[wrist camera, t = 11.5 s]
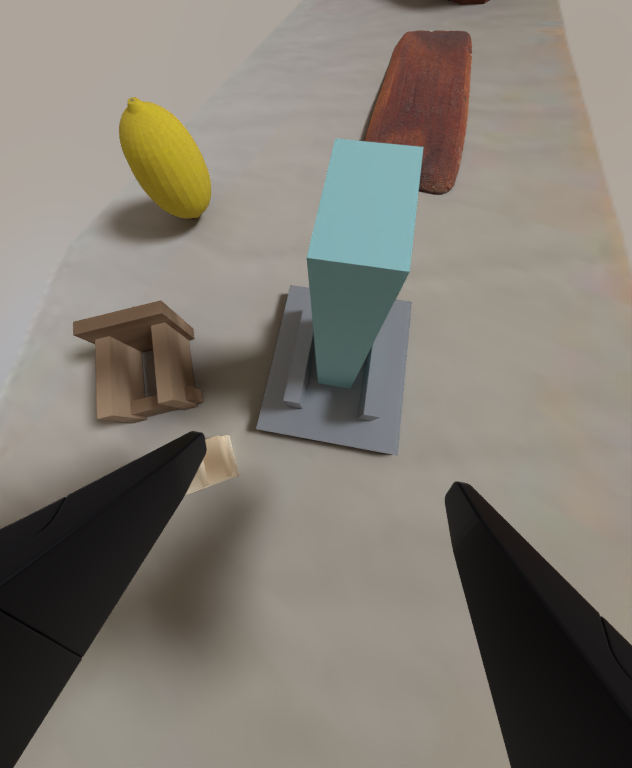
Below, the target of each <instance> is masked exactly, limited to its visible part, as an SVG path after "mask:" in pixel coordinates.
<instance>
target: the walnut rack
mask: <svg viewBox="0 0 632 768" xmlns="http://www.w3.org/2000/svg"><path fill="white" fill-rule="evenodd" d="M73 335H74V336H77V337H79V338H81V339H84V340H86V341H88V342H91V343H93V344H95V352H96V396H97V419H100V420H110V421H120V422H130V423H136V422H139V421H143V420H147V417H149V416H153V415H156V414H160V413H164V412H168V411H172V410H176V409H179V408H180V409H184V410H185V409H189V408H193V407H197V404H199V403H202V402H203V395H202V390H200V389H198V388H195V384H194V376H193V369H192V361H191V354H190V346H189V340H192V339H194V332H193V328H192V327H191V326H190V325H189V324H187V323H186V322H185V321H184V320H183V319H182V318H180V317H179V316H178V315H177V314H176V313H175V312H174V311H172V310H171V309H170V308H169V307H168V306H167V305H166V304H164V303H163V302H162V301H157V302H153V303H149V304H145V305H141V306H137V307H132V308H128V309H124V310H120V311H116V312H112V313H108V314H104V315H100V316H96V317H92V318H88V319H83V320H79V321H75V322H73ZM152 349H153V353H154V364H155V375H156V386H157V395H154V396H150V397H146V398H145V389H144V376H143V363H142V352H144V351H148V350H152Z"/></svg>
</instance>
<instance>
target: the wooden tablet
mask: <svg viewBox="0 0 632 768" xmlns="http://www.w3.org/2000/svg"><path fill="white" fill-rule="evenodd" d="M471 54H472V42H471V37H470V35H469V33H467V32H465V31H433V32H430V31H413V32H407V33H405V34H404V35H403V37H402V38H401V39H400V41H399V42H398V44H397V45H396V47H395V48H394V51H393V54H392V58H391V61H390V64H389V67H388V70H387V74H386V76H385V79H384V83H383V85H382V88H381V90H380V93H379V96H378V99H377V102H376V105H375V107H374V111H373V114H372V117H371V120H370V124H369V127H368V130H367V133H366V137H365V140H364V141H366V142H376V143H387V144H397V145H408V146H418V147H423V156H422V165H421V174H420V183H419V191H422V192H427V193H432V194H444V193H447V192H449V191H450V190H451V189H452V187H453V186H454V184H455V181H456V177H457V174H458V170H459V167H460V162H461V157H462V151H463V145H464V139H465V131H466V125H467V118H468V104H469V92H470V74H471V60H472V56H471Z"/></svg>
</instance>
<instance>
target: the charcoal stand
mask: <svg viewBox="0 0 632 768" xmlns="http://www.w3.org/2000/svg"><path fill="white" fill-rule="evenodd" d="M411 304H412V302H409V301H402V300H395V302H394V304H393V305H392V307H391V309H390V311H389V313H388V315H387V317H386V319H385V321H384V323H383V325H382V327H381V329H380V331H379V333H378V335H377V337H376V339H375V341H374V343H373V345H372V347H371V349H370V351H369V353H368V355H367V357H366V359H365V361H364V363H363V365H362V367H361V369H360V371H359V373H358V375H357V377H356V379H355V381H354V382H353V384H352V386H351V388H350V389H348V388H342V387H337V386H331V385H326V384H320V383H318V376H317V365H316V354H315V343H314V332H313V321H312V310H311V299H310V288H307V287H300V286H292V285H290V289H289V293H288V297H287V301H286V306H285V310H284V314H283V318H282V322H281V327H280V331H279V335H278V339H277V343H276V348H275V352H274V356H273V360H272V364H271V368H270V373H269V377H268V381H267V385H266V389H265V394H264V398H263V402H262V406H261V410H260V415H259V419H258V423H257V427H256V429H258V430H264V431H269V432H275V433H280V434H285V435H291V436H296V437H301V438H307V439H312V440H317V441H323V442H328V443H334V444H339V445H344V446H350V447H355V448H360V449H366V450H371V451H377V452H382V453H387V454H393V455H398V445H399V434H400V424H401V413H402V402H403V391H404V380H405V369H406V358H407V348H408V337H409V326H410V315H411Z"/></svg>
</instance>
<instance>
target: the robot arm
mask: <svg viewBox="0 0 632 768" xmlns="http://www.w3.org/2000/svg"><path fill="white" fill-rule="evenodd" d="M206 452H207V447H206V441H205V436H204V434H203V433H201V432H196V431H191V432H189V433H187V434H185V435H183V436H181V437H179V438H177V439H175V440H173V441H171V442H170V443H168V444H166V445H164V446H162V447H160V448H158V449H156V450H154V451H152V452H150V453H148V454H146V455H144V456H143V457H141V458H139V459H137V460H135V461H133V462H131V463H129V464H127V465H125V466H123V467H121V468H119V469H118V470H116V471H114V472H112V473H110V474H108V475H106V476H104V477H102V478H100V479H98V480H96V481H94V482H92V483H91V484H89V485H87V486H85V487H83V488H81V489H79V490H77V491H75V492H73V493H71V494H69V495H68V496H67V497H63V498H62V499H60V500H58V501H56V502H54V503H52V504H50V505H48V506H46V507H44V508H42V509H40V510H38V511H36V512H34V513H32V514H30V515H28V516H26V517H24V518H22V519H20V520H18V521H16V522H14V523H12V524H10V525H8V526H6V527H4V528H1V529H0V768H13V767H14V766H15V764H16V763H17V761H18V759H19V758H20V756H21V755H22V753H23V751H24V750H25V748H26V747H27V745H28V744H29V742H30V740H31V739H32V737H33V736H34V734H35V732H36V731H37V729H38V728H39V726H40V725H41V723H42V721H43V720H44V718H45V717H46V715H47V713H48V712H49V710H50V709H51V707H52V706H53V704H54V702H55V701H56V699H57V698H58V696H59V694H60V693H61V691H62V690H63V688H64V687H65V685H66V683H67V682H68V680H69V679H70V677H71V675H72V674H73V672H74V671H75V669H76V668H77V666H78V664H79V663H80V661H81V660H82V657H83V656H84V654H85V653H86V651H87V650H88V648H89V647H90V645H91V643H92V642H93V640H94V639H95V637H96V635H97V634H98V632H99V631H100V629H101V628H102V626H103V624H104V623H105V621H106V620H107V618H108V616H109V615H110V613H111V612H112V610H113V609H114V607H115V605H116V604H117V602H118V601H119V599H120V597H121V596H122V594H123V593H124V591H125V590H126V588H127V586H128V585H129V583H130V582H131V580H132V578H133V577H134V575H135V574H136V572H137V571H138V569H139V567H140V566H141V564H142V563H143V561H144V559H145V558H146V556H147V555H148V553H149V552H150V550H151V548H152V547H153V545H154V544H155V542H156V540H157V539H158V537H159V536H160V534H161V533H162V531H163V529H164V528H165V526H166V525H167V523H168V521H169V520H170V518H171V517H172V515H173V514H174V512H175V510H176V509H177V507H178V506H179V504H180V502H181V501H182V499H183V498H184V496H185V494H186V492H187V491H188V489H189V487H190V485H191V483H192V481H193V479H194V477H195V475H196V473H197V471H198V469H199V467H200V465H201V463H202V461H203V459H204V457H205V455H206ZM445 507H446V513H447V519H448V525H449V531H450V537H451V543H452V548H453V552H454V557H455V560H456V564H457V568H458V572H459V575H460V579H461V583H462V587H463V590H464V594H465V598H466V601H467V605H468V609H469V613H470V616H471V620H472V624H473V628H474V631H475V635H476V639H477V642H478V646H479V650H480V654H481V657H482V661H483V665H484V669H485V672H486V676H487V680H488V683H489V687H490V691H491V695H492V698H493V702H494V706H495V709H496V713H497V717H498V721H499V724H500V728H501V732H502V736H503V739H504V743H505V747H506V750H507V754H508V758H509V762H510V765H511V768H632V645H631V644H630V643H629V642H628V641H627V640H626V639H625V638H624V637H623V636H622V635H621V634H620V633H619V632H618V631H617V630H616V629H615V628H614V627H613V626H612V625H611V624H610V623H609V622H608V621H607V620H606V619H605V618H603V617H602V616H600V614H599V613H598V612H597V611H596V610H595V609H594V608H593V607H592V606H591V605H590V604H589V603H588V602H587V601H586V600H585V599H584V598H583V597H582V596H581V595H580V594H579V593H578V592H577V591H576V590H575V589H574V588H573V587H572V586H571V585H570V584H569V583H568V582H567V581H566V580H565V579H564V578H563V577H562V576H561V575H560V574H559V573H558V572H557V571H556V570H555V569H554V568H553V567H552V566H551V565H550V564H549V563H548V562H547V561H546V560H545V559H544V558H543V557H542V556H541V555H540V554H539V553H538V552H537V551H536V550H535V549H534V548H533V547H532V546H531V545H530V544H529V543H528V542H527V541H526V540H525V539H524V538H523V537H522V536H521V535H520V534H519V533H518V532H517V531H516V530H515V529H514V528H513V527H512V526H511V525H510V524H509V523H508V522H507V521H506V520H505V519H504V518H503V517H502V516H501V515H500V514H499V513H498V512H497V511H496V510H495V509H494V508H493V507H492V506H491V505H490V504H489V503H488V502H487V501H486V500H485V499H484V498H483V497H482V496H481V495H480V494H479V493H478V492H477V491H476V490H475V489H474V488H473V487H472V486H471V485H469V484H468V483H463V482H458V481H456V482H454V483H453V485H452V486H451V488H450V489H449V491H448V492H447V494H446V496H445Z"/></svg>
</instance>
